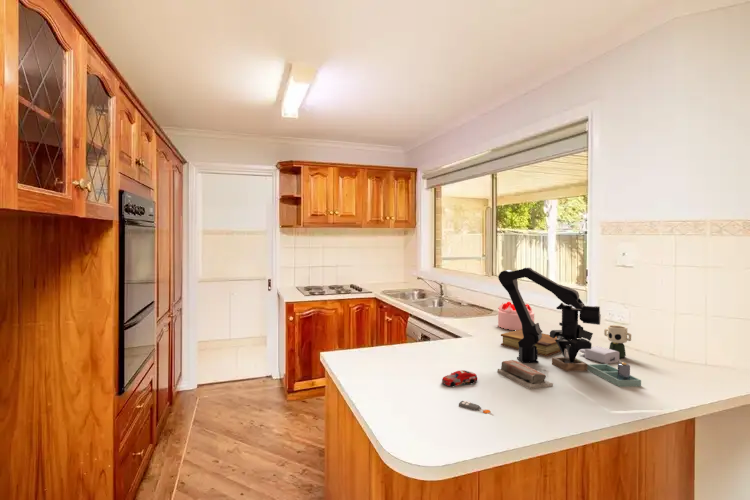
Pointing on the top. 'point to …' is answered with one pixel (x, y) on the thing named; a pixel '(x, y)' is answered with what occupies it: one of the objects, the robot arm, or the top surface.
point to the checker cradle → (569, 364)
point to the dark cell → (623, 371)
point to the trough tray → (612, 375)
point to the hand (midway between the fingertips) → (569, 360)
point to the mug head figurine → (617, 338)
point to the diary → (544, 345)
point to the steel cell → (566, 356)
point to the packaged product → (524, 375)
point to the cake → (511, 316)
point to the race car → (459, 378)
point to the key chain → (473, 407)
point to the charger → (601, 354)
